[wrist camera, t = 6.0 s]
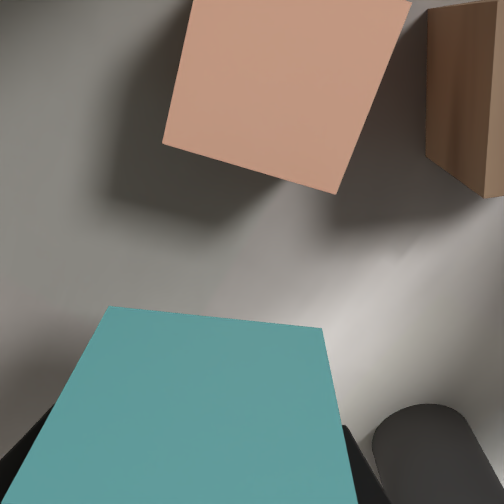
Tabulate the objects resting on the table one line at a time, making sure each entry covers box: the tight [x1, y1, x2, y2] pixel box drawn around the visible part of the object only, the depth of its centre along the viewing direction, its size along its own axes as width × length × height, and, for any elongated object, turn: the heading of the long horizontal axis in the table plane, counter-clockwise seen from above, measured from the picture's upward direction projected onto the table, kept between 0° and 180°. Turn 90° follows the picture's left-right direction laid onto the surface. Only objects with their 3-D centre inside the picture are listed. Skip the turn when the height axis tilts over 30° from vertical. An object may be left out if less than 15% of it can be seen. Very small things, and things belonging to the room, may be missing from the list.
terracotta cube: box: [162, 0, 412, 195], centre depth 14 cm, size 5×5×5 cm
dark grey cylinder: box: [372, 404, 504, 504], centre depth 22 cm, size 5×5×5 cm
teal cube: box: [1, 306, 358, 504], centre depth 10 cm, size 5×5×5 cm
